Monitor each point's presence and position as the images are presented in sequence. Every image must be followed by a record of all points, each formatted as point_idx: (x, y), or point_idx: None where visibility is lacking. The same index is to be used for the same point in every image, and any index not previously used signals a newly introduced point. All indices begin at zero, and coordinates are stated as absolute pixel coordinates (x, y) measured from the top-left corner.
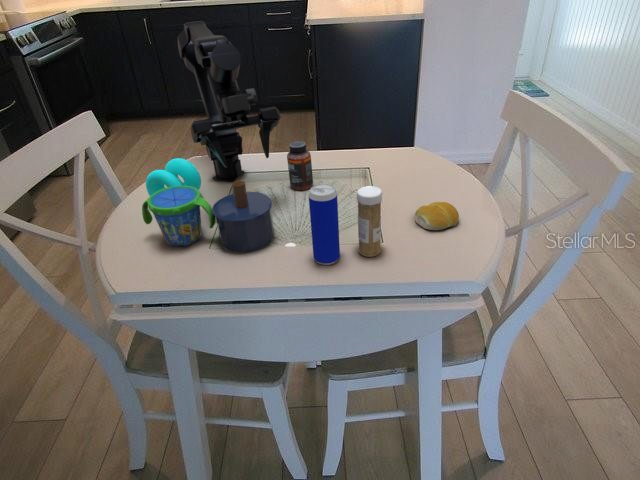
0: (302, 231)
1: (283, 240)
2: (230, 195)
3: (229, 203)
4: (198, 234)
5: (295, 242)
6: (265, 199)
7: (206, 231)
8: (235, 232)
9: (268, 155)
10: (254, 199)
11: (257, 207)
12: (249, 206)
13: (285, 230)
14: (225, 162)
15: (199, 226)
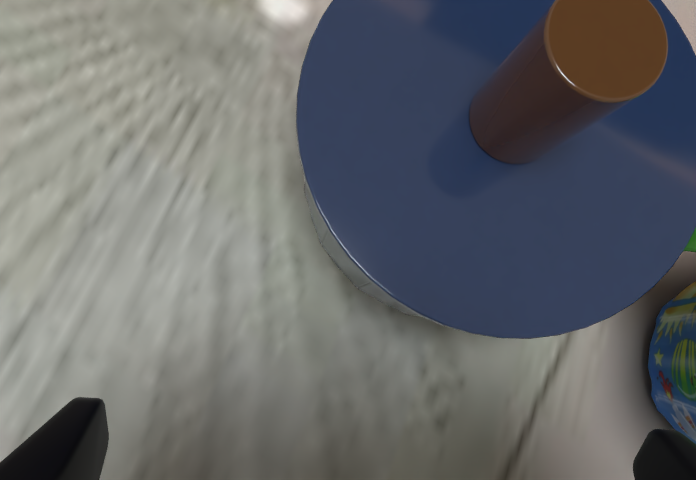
0: (171, 77)
1: (294, 57)
2: (543, 323)
3: (584, 199)
4: (680, 297)
5: (251, 7)
6: (337, 99)
7: (609, 368)
8: None
9: (75, 403)
10: (407, 148)
11: (431, 25)
12: (474, 73)
13: (243, 137)
14: (689, 457)
15: (692, 307)
